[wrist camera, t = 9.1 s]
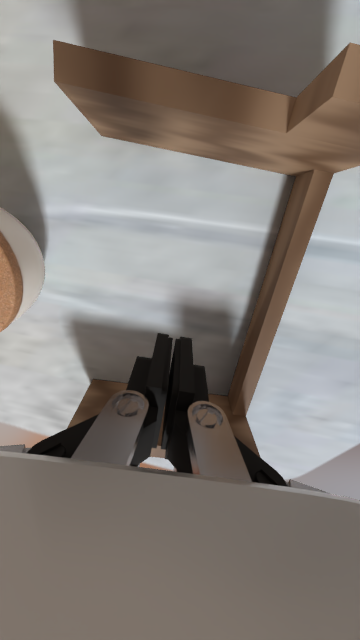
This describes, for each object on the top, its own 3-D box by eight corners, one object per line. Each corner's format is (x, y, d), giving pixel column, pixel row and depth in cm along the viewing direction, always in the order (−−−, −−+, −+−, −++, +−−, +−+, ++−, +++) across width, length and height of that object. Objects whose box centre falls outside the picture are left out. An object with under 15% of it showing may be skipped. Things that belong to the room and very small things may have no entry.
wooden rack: (319, 159, 20) (499, 81, 9) (236, 407, 30) (271, 515, 19) (102, 112, 18) (-9, -52, 7) (92, 389, 29) (40, 495, 18)
